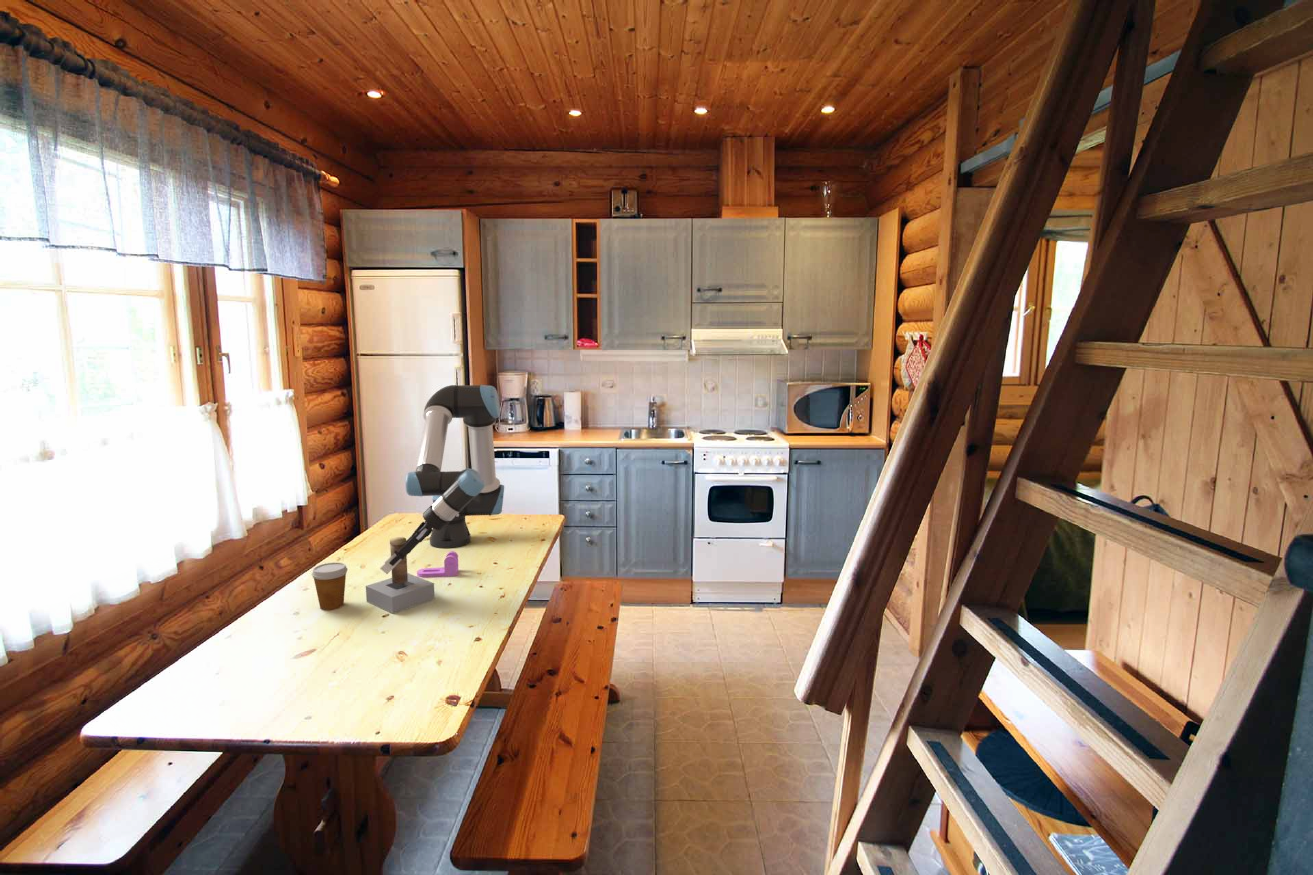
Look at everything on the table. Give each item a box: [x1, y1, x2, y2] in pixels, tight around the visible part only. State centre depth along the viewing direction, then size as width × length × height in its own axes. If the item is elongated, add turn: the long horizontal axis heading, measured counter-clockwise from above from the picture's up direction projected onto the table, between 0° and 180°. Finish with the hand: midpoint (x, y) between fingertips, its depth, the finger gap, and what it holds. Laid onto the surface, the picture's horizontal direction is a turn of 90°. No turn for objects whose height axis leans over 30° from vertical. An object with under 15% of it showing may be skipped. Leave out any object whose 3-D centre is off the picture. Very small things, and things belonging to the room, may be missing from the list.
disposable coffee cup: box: [311, 561, 348, 611], centre depth 195 cm, size 10×10×12 cm
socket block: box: [365, 572, 436, 615], centre depth 200 cm, size 14×14×5 cm
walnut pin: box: [389, 536, 408, 584], centre depth 199 cm, size 5×5×13 cm
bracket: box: [416, 551, 459, 579], centre depth 222 cm, size 13×6×7 cm, turn 99°
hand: (386, 568), depth 198 cm, fingers closed on walnut pin, 4 cm apart
